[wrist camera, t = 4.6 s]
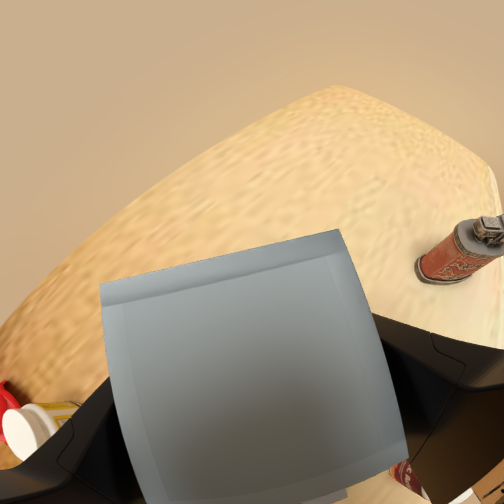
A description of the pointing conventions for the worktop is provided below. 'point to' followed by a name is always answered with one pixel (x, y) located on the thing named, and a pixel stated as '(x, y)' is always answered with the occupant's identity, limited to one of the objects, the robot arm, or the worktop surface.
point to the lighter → (463, 251)
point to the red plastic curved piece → (6, 406)
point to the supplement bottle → (34, 425)
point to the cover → (251, 376)
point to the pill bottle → (409, 480)
